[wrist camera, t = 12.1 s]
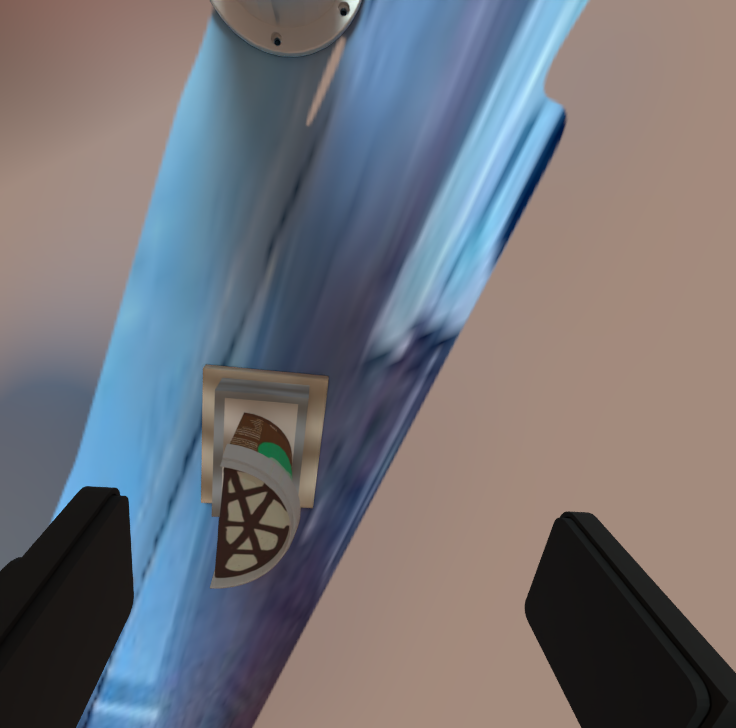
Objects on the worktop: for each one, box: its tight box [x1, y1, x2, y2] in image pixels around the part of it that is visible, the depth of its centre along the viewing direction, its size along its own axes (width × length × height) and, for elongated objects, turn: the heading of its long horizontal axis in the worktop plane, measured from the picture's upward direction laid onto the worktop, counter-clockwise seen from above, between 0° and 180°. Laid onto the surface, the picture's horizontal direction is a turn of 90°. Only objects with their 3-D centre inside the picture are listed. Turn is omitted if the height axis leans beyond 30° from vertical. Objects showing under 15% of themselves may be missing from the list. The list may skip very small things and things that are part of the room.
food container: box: [210, 412, 301, 588], centre depth 36 cm, size 12×6×10 cm, turn 169°
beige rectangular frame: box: [201, 364, 329, 517], centre depth 42 cm, size 16×12×4 cm
